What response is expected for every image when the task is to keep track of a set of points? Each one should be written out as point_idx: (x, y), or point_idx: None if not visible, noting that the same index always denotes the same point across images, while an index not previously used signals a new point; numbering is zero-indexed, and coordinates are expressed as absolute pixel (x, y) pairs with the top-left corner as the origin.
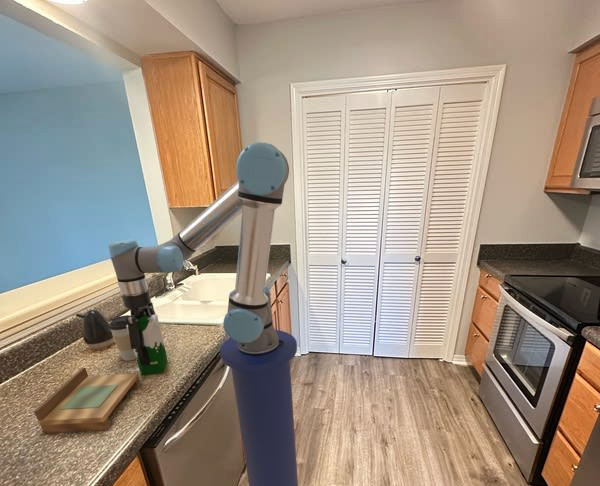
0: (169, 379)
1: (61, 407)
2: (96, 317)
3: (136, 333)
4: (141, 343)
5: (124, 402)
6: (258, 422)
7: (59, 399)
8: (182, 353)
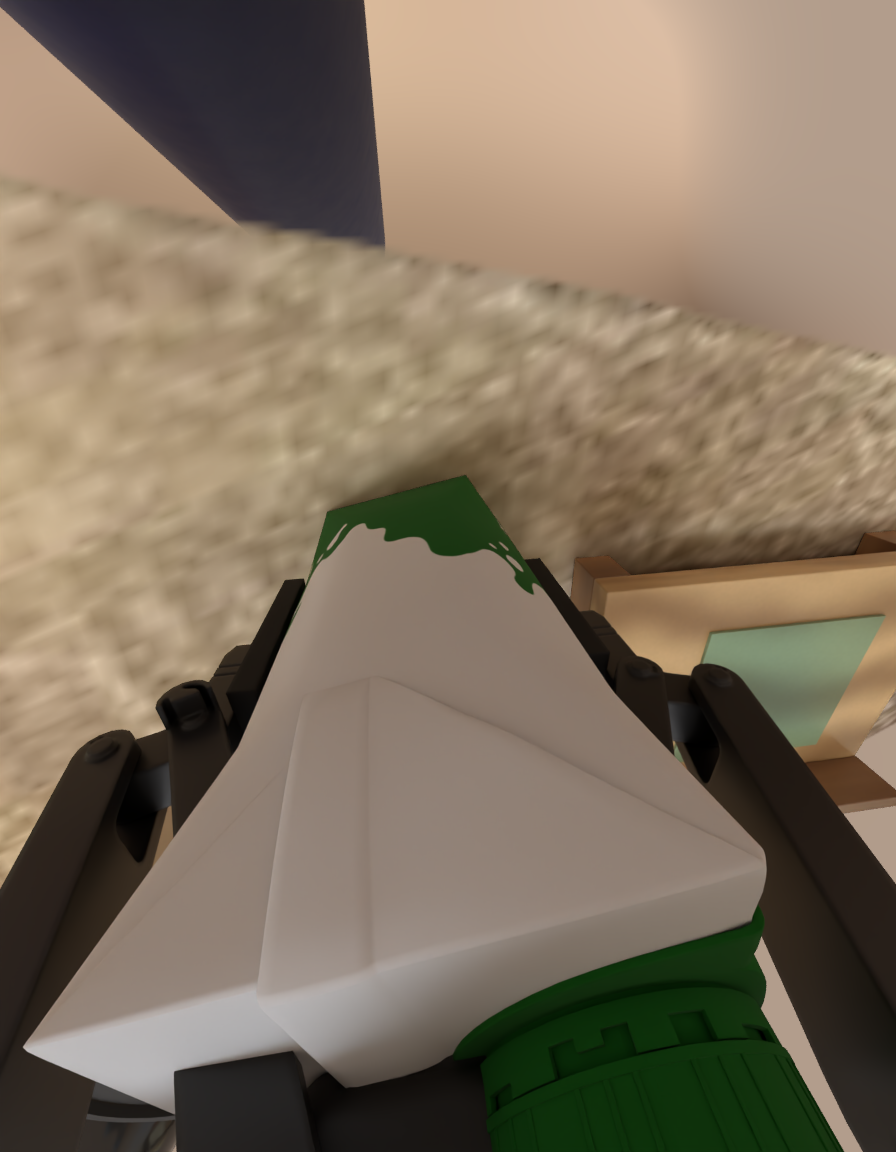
0: (552, 399)
1: (798, 747)
2: (124, 1143)
3: (864, 855)
4: (663, 698)
5: (716, 557)
6: (361, 1)
7: None
8: (182, 446)
